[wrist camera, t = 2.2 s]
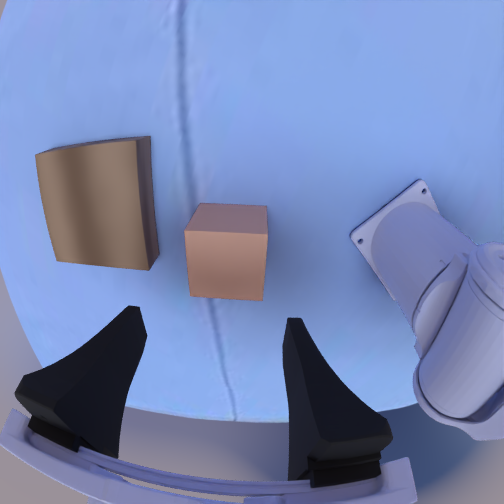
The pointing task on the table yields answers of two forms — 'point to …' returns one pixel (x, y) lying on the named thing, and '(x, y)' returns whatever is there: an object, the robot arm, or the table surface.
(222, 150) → the table surface
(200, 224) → the cube
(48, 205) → the base block
